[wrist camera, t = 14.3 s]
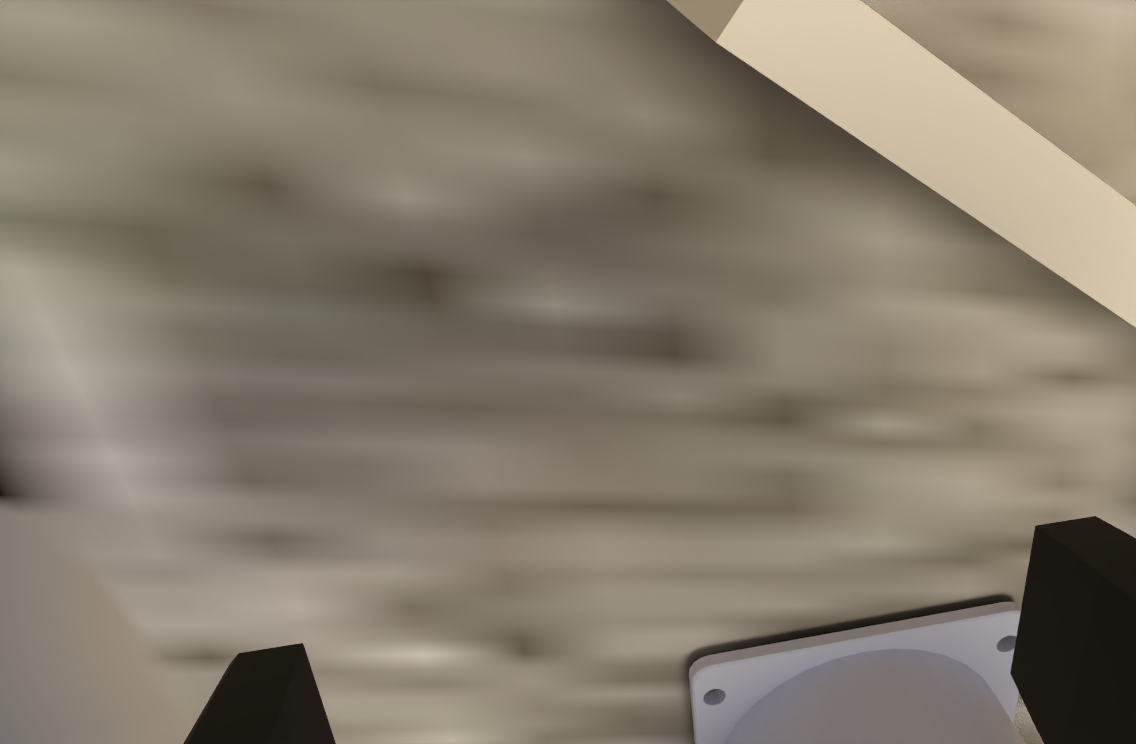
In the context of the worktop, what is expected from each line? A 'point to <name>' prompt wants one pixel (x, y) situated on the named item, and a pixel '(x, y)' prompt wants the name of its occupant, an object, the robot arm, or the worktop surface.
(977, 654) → the robot arm
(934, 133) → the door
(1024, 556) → the worktop surface
